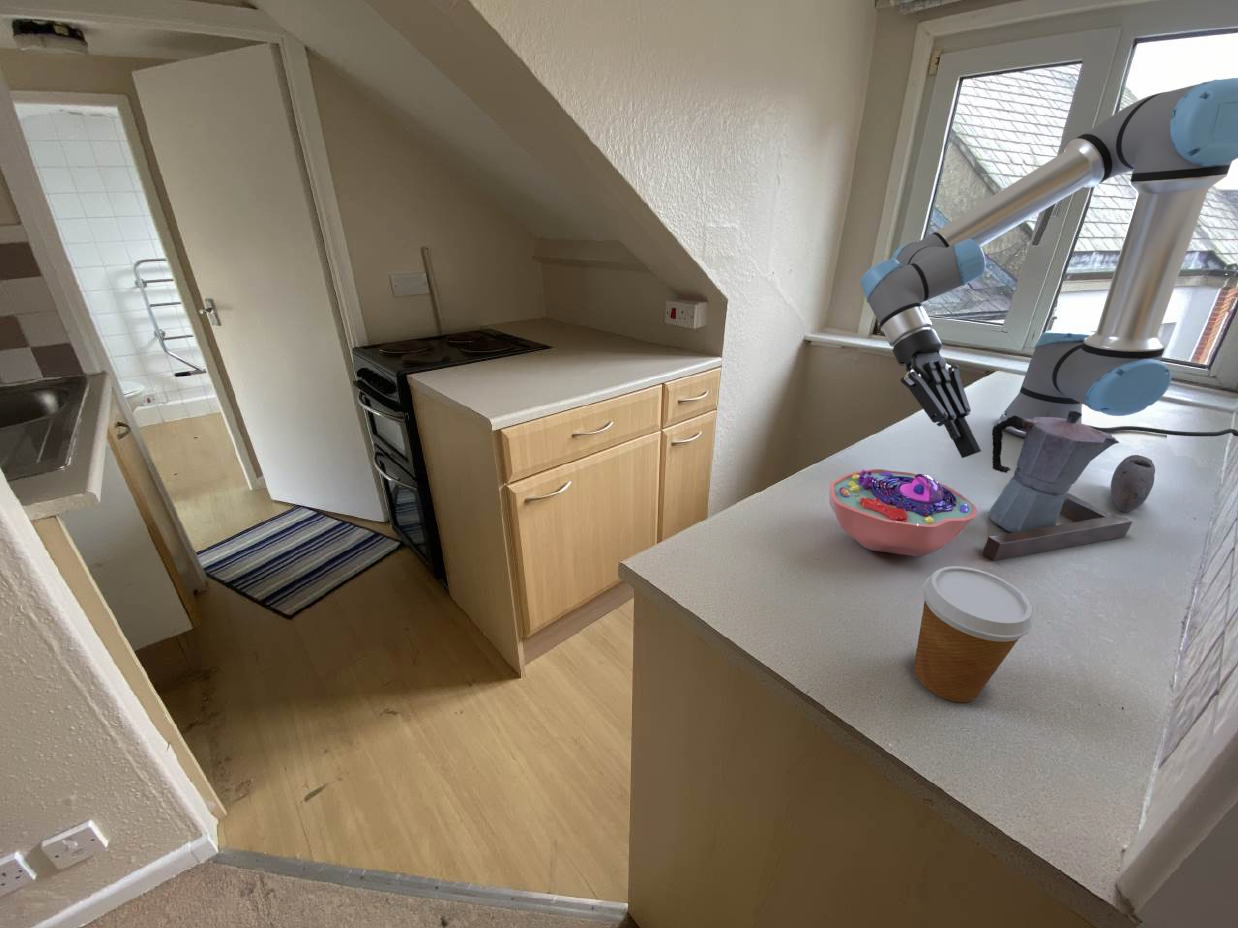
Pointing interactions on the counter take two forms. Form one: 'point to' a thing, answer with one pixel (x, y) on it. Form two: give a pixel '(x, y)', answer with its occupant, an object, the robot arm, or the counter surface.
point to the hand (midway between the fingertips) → (971, 454)
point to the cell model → (899, 511)
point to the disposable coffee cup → (967, 630)
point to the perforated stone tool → (1132, 482)
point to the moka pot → (1043, 468)
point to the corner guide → (1060, 532)
